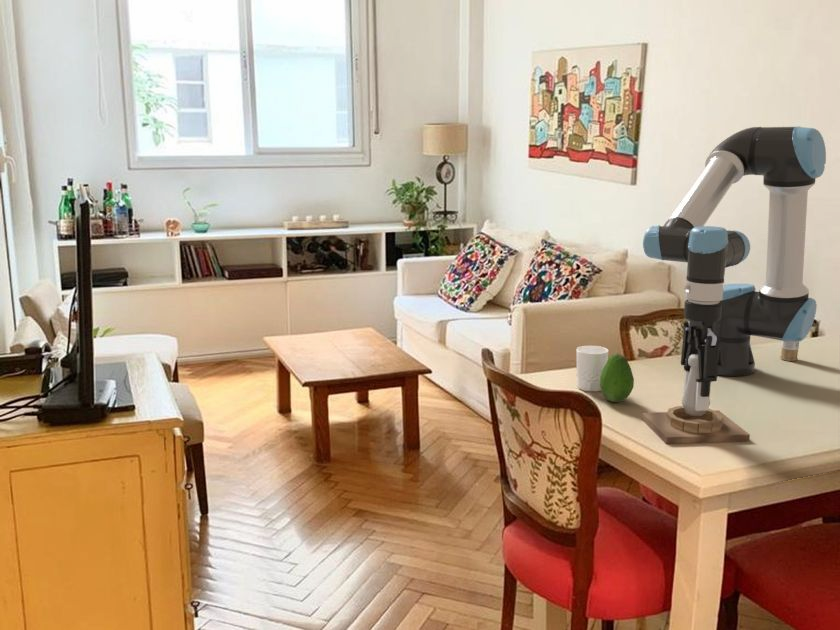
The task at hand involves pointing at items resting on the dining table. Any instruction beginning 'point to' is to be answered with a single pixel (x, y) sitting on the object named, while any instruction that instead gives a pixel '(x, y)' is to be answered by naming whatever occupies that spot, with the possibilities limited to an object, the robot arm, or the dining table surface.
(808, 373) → the dining table surface
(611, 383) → the avocado
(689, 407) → the salt shaker
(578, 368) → the white cup
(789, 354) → the sprinkles bottle
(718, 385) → the dining table surface
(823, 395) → the dining table surface
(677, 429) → the cruet board
